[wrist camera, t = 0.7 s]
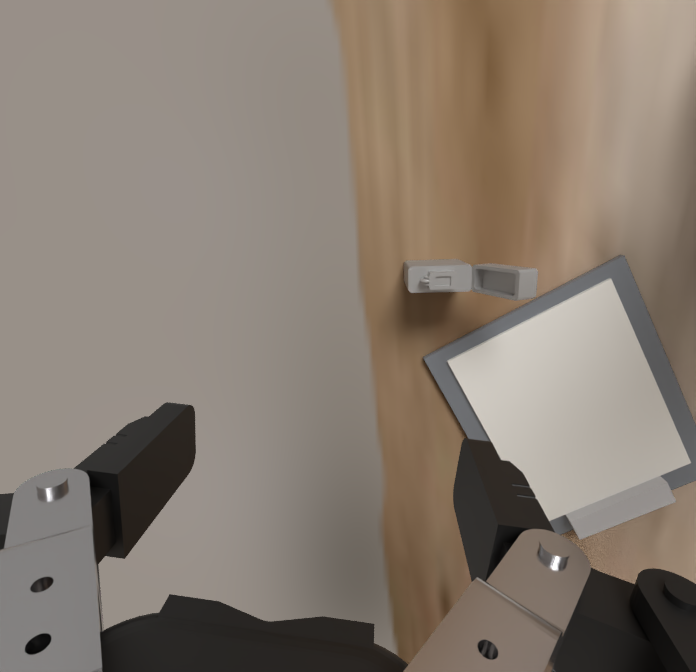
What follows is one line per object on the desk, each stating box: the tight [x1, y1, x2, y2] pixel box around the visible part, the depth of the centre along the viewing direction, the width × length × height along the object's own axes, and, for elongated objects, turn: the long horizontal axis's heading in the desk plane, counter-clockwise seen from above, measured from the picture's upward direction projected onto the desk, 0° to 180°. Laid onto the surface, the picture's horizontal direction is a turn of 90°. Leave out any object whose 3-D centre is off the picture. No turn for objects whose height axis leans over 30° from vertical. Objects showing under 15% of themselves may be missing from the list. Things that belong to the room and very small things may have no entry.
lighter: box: [404, 259, 538, 301], centre depth 28 cm, size 7×2×8 cm, turn 92°
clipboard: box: [423, 255, 696, 539], centre depth 33 cm, size 16×20×2 cm
